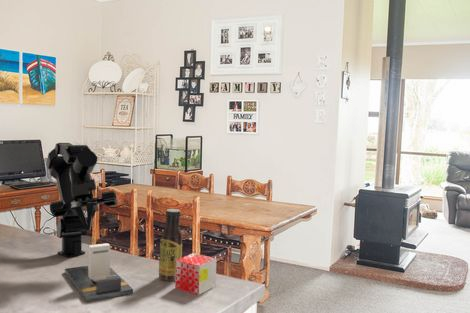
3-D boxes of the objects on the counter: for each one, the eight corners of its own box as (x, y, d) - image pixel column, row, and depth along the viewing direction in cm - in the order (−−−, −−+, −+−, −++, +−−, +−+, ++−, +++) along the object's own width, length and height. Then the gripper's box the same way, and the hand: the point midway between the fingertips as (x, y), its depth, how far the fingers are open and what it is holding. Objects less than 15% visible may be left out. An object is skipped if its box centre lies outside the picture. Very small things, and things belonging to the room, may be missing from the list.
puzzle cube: (198, 294, 124) (199, 265, 124) (175, 288, 128) (175, 259, 128) (215, 286, 131) (216, 258, 130) (192, 280, 135) (193, 253, 135)
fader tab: (88, 279, 128) (88, 245, 128) (107, 276, 131) (107, 242, 130) (90, 282, 126) (91, 247, 125) (110, 279, 129) (110, 245, 128)
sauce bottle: (154, 279, 135) (155, 210, 133) (167, 273, 140) (168, 206, 138) (173, 283, 132) (174, 213, 130) (185, 277, 137) (187, 209, 135)
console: (64, 272, 137) (64, 258, 137) (105, 267, 144) (105, 253, 143) (86, 301, 117) (86, 285, 117) (133, 293, 123) (133, 277, 123)
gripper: (43, 177, 134) (48, 229, 128) (110, 165, 139) (118, 215, 132) (51, 192, 144) (56, 240, 138) (113, 180, 148) (121, 227, 142)
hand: (88, 230), depth 137 cm, fingers closed
